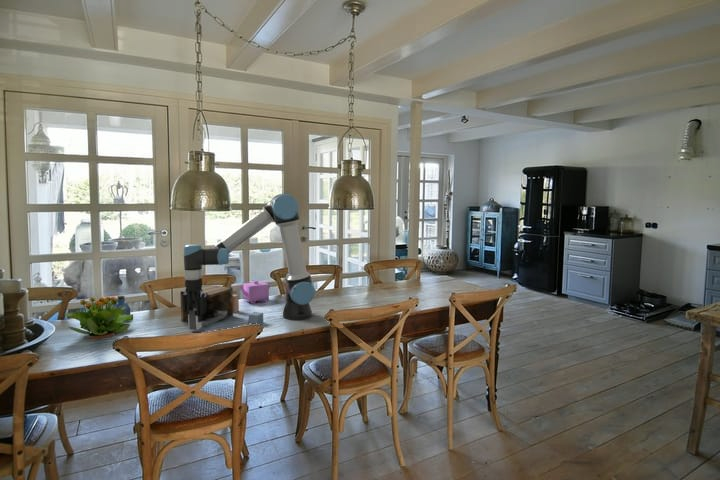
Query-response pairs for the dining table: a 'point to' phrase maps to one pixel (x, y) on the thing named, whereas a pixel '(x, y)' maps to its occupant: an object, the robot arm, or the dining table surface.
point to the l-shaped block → (235, 303)
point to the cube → (256, 318)
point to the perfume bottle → (122, 305)
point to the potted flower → (101, 318)
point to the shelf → (215, 299)
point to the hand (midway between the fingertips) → (195, 327)
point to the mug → (204, 316)
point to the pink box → (255, 291)
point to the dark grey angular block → (217, 316)
